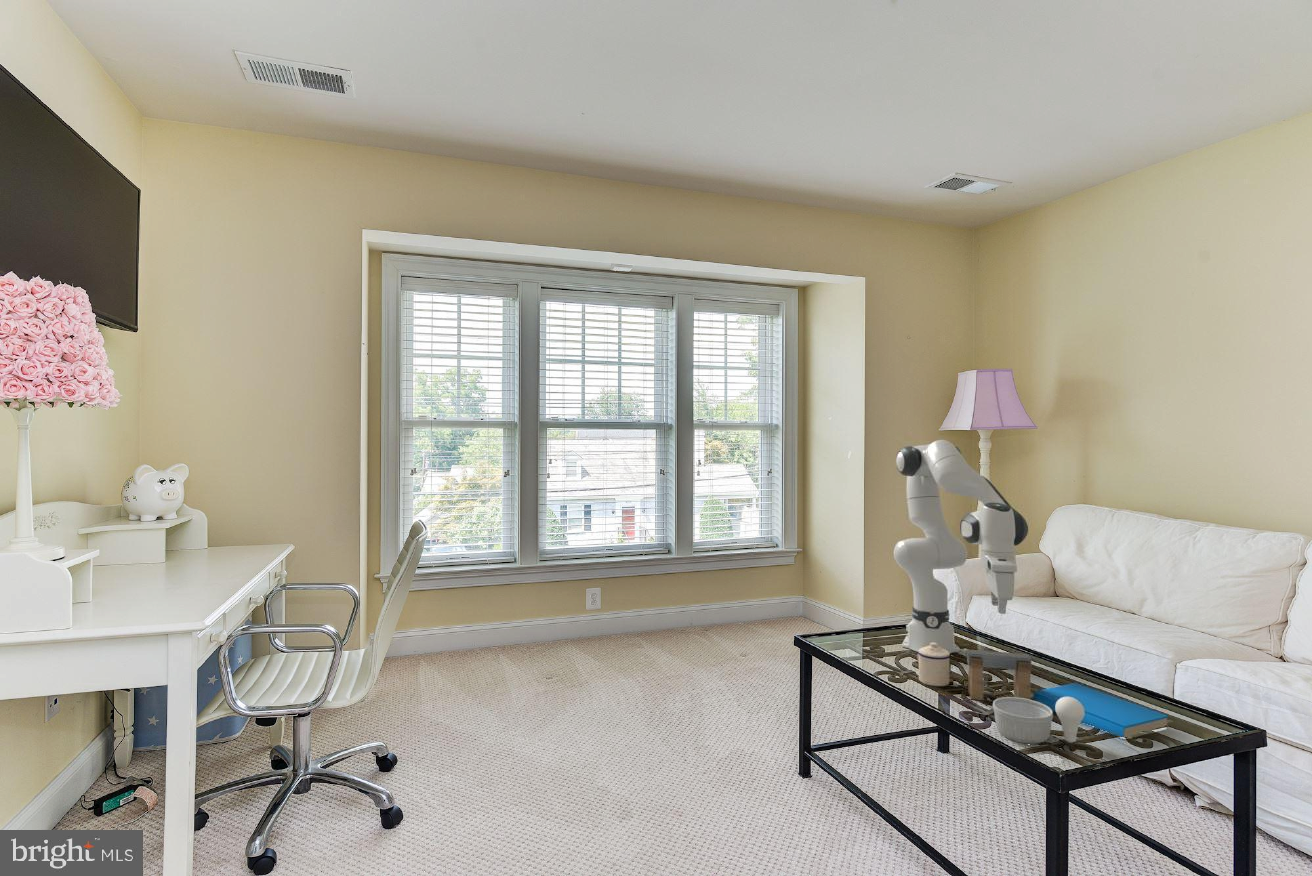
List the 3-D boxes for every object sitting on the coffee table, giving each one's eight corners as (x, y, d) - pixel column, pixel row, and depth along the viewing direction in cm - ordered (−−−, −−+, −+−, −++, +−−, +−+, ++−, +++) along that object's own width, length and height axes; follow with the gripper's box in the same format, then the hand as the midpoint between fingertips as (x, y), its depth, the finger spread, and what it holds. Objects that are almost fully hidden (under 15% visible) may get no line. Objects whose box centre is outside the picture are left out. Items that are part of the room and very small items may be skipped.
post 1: (968, 691, 197) (968, 652, 197) (979, 692, 196) (979, 653, 196) (971, 699, 191) (971, 658, 191) (983, 700, 190) (983, 659, 190)
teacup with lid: (956, 685, 201) (956, 646, 201) (930, 688, 199) (930, 649, 199) (931, 671, 213) (931, 635, 213) (906, 674, 211) (905, 637, 211)
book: (1074, 682, 194) (1168, 714, 171) (1075, 697, 194) (1169, 731, 171) (1032, 691, 187) (1124, 725, 164) (1032, 706, 187) (1124, 743, 164)
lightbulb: (1050, 740, 164) (1050, 696, 164) (1063, 735, 168) (1063, 690, 168) (1076, 750, 159) (1076, 704, 159) (1089, 744, 162) (1089, 699, 162)
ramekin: (1012, 747, 161) (1012, 718, 161) (982, 724, 174) (981, 697, 174) (1065, 745, 162) (1065, 716, 162) (1030, 722, 175) (1030, 695, 175)
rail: (966, 661, 196) (966, 649, 196) (1028, 666, 191) (1028, 654, 191) (968, 665, 192) (968, 653, 192) (1031, 671, 187) (1031, 658, 187)
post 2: (1013, 695, 193) (1013, 656, 193) (1025, 696, 192) (1025, 657, 192) (1018, 703, 187) (1018, 662, 187) (1030, 704, 186) (1030, 663, 186)
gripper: (979, 554, 202) (979, 600, 202) (992, 566, 183) (992, 617, 183) (1002, 555, 201) (1003, 601, 200) (1018, 567, 181) (1018, 618, 181)
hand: (998, 609), depth 191 cm, fingers open, 8 cm apart
